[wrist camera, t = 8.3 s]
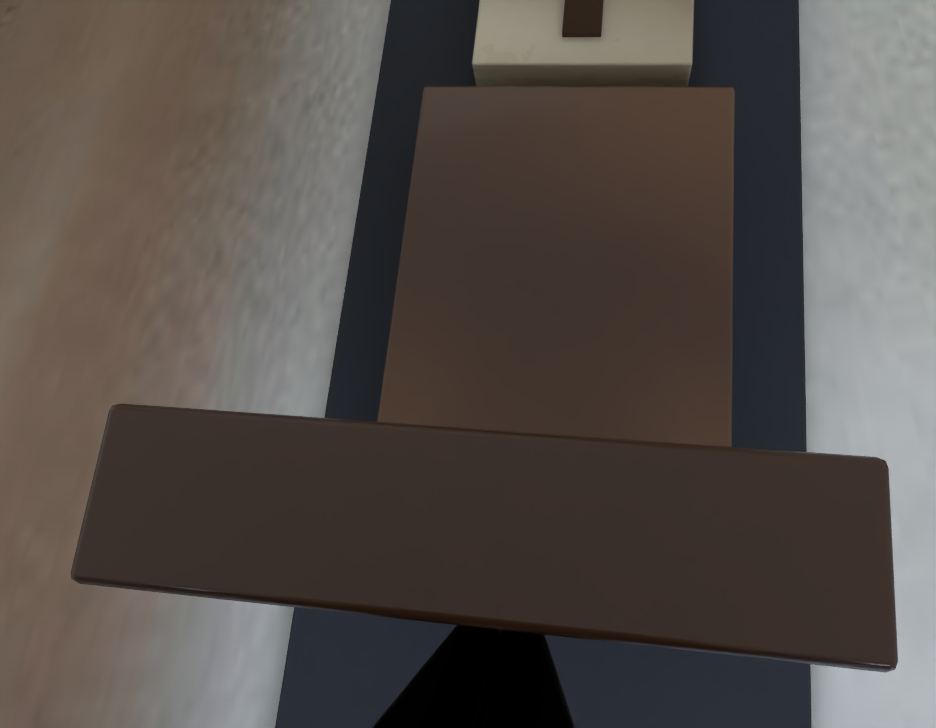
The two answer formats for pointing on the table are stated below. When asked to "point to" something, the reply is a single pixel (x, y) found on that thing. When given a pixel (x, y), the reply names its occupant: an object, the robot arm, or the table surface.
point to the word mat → (754, 321)
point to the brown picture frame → (529, 418)
